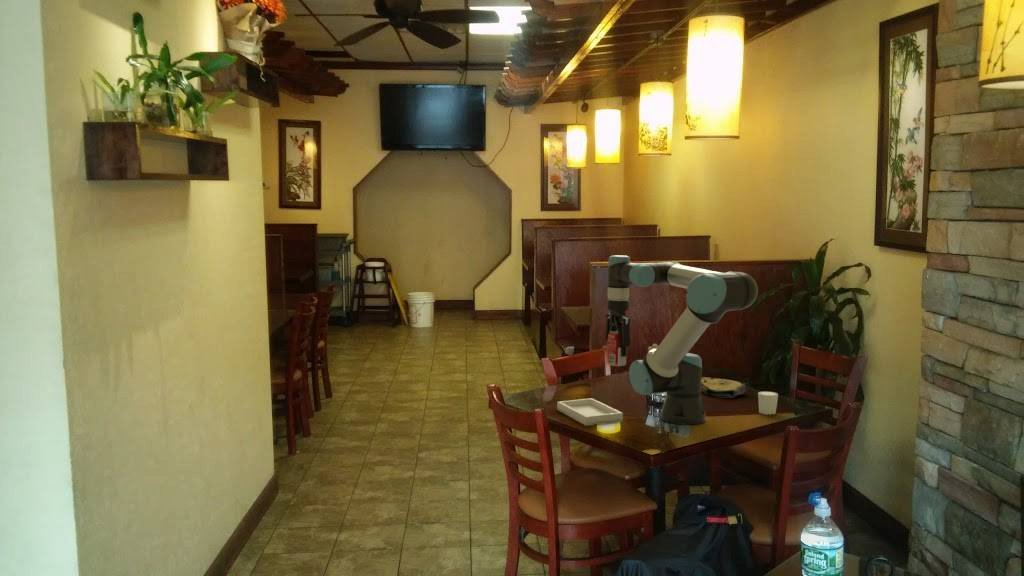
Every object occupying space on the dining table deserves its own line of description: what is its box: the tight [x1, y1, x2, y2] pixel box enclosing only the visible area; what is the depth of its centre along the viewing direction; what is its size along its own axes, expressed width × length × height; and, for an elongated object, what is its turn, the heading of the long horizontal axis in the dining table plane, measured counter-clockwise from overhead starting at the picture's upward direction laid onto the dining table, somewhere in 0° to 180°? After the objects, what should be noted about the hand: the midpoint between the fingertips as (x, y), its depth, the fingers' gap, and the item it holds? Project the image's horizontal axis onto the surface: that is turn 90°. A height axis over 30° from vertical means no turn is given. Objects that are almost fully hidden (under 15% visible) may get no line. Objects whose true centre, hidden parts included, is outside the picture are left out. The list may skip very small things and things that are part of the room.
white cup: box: [757, 390, 779, 416], centre depth 295 cm, size 7×7×7 cm
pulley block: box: [701, 376, 754, 399], centre depth 328 cm, size 14×6×30 cm
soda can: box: [606, 330, 628, 367], centre depth 295 cm, size 7×7×12 cm
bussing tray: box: [556, 397, 624, 427], centre depth 290 cm, size 22×14×3 cm, turn 23°
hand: (616, 363), depth 296 cm, fingers closed on soda can, 7 cm apart
